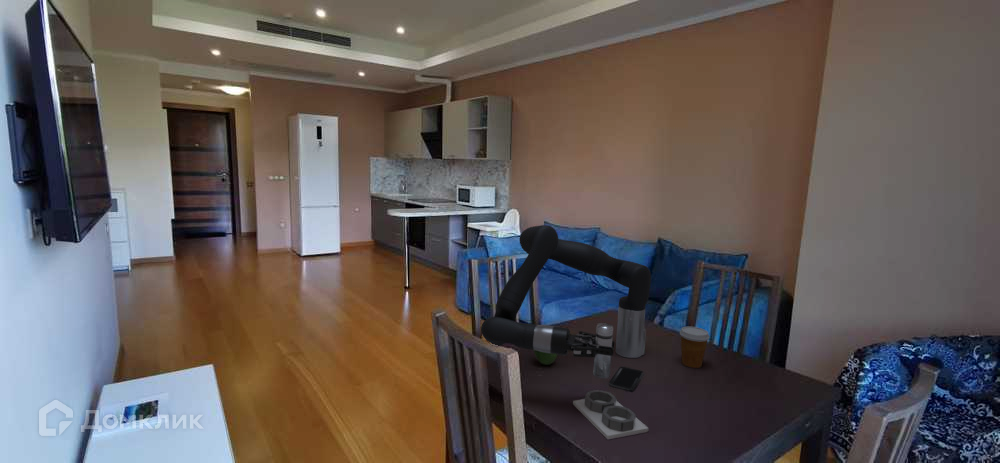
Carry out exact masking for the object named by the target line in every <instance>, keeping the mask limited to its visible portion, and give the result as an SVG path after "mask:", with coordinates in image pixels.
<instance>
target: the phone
mask: <svg viewBox="0 0 1000 463" xmlns="http://www.w3.org/2000/svg"><path fill="white" fill-rule="evenodd" d="M644 374H645V373H644V370H643V371H642V370H640V369H635V368H631V367H625V366H620V367H619V368H618V369H617V371H616V372H615V374H614V375H613V376H612V378H611V379H610V380H609V381H608V387H611V388H615V389H619V390H623V391H626V392H630V393H633V392H635V390H636V389H637V387H638V385H639V384H640V382H641V380H642V378H643V376H644Z"/></svg>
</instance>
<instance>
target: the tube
mask: <svg viewBox="0 0 1000 463" xmlns="http://www.w3.org/2000/svg"><path fill="white" fill-rule="evenodd" d="M595 335H596V342H595V344H596V345H599V347H600V346H608V347H612V341H613V338H614V325H612V324H610V323H606V322H599V323H597V324H596V332H595ZM593 359H594V360H593V372H592V375H593V376H594V377H596V378H598V379H608V378H609V377H610V374H611V363H612V362H611V361H612V360H611V359H612V356H608V355H601V354H599V355H596V357H593Z"/></svg>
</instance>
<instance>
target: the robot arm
mask: <svg viewBox="0 0 1000 463" xmlns="http://www.w3.org/2000/svg"><path fill="white" fill-rule="evenodd" d="M519 244H520V247H521V249H522V250H523V251H524V252H525V253H526V254H527V256H526V258H525V260H524V261H523V263H522V264H521V265H520V267H519V268H517V270H516V271H515V272H514V273H513V274H512V275H511V277H510V278H509V279H508V281H507V282H506V284H505V285H504V287H503V288H502V291H501V293H500V294H499V296H498V298H497V300H496V302H495V313H494V316H492V317H488V318H486V319H484V321H483V322H482V323H481V327H480V331H481V332H480V333H481V335H482V336H483V338H484V339H485V340H486V341H487V342H488V341H489V342H491V343H492V344H495V345H498V346H497V347H501V346H503V345H505V344H510V345H514V346H515V347H517V348H520V349H525V350H532V351H534V350H536V351H540V352H545V353H552V354H557V356H558V355H560V356H567V355H568V352H569V351H570V352H573V354H572V356H573V357H574V358H575V357H576V358H594V357H596V355H599V354H601V355H608V356H611V357H613V356H614V351H615V353H616V354H617V355H619V356H621V357H622V358H623V357H624V358H629V359H636V358H640V357H642V356H644V355H645V349H646V348H645V347H646V337H647V336H646V335H647V329H646V328H645V320H646V319H645V316H646V306H647V303H648V301H649V296H650V291H651V290H650V289H651V283H652V282H651V281H652V272H651V270H650V268H649V267H648V266H646V265H645V264H641V263H638V262H634V261H630V260H624V259H620V258H616V257H614V256H611V255H609V254H608V253H607V252H605V251H604V250H602V249H601V248H598V247H596V246H594V245H591V244H588V243H584V242H579V241H574V240H566V239H561V238H559V236H558V232H557V230H556V228H554V227H552V226H551V225H547V224H541V225H535V226H533V225H532V226H530V227H528V228H525V229H524V230H523V231H522V232H521V233H520V235H519ZM549 260H552V261H555V262H558V263H559V264H562V265H564V266H567V267H569V268H572V269H575V270H577V271H579V272H582V273H585V274H588V275H592V276H599V277H604V278H605V277H606V278H607V279H610V280H612V281H613V282H616V283H618V284H619V285H621V286H623V287H626V288H628V290H627V291H628V293H627V295H624V296H621V297H620V298H619V299H618V309H617V310H618V312H617V326H616V340H612V347H608V346H600V347H599V345H596V344H595V342H596V333H595V334H594V333H590V332H587V331H582V330H579V331H578V333H577V334H571V333H570V332H571V330H570V328H568V327H563V326H554V325H547V324H532V323H525V322H523V323H522V322H518V321H516V319H517V315H518V313H519V312H520V309H521V307H522V305H523V303H524V301H525V299H526V296H527V295H528V292H529V290H530V289H531V287H532V285H533V284H534V282H535V280H536V279H537V277H538V275H539V274H540V273H541V271H542V269H543V268H544V266H545V265H546V263H548V261H549ZM489 342H488V343H489Z"/></svg>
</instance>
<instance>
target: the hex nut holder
mask: <svg viewBox="0 0 1000 463" xmlns="http://www.w3.org/2000/svg"><path fill="white" fill-rule="evenodd" d="M572 405H573V406H574V407H575V408H576V409H577V410H578V411H579V412H580V413H581V414H582V415H583V416H584V417H585V418H586V419H587V421H589V423H591V424H592V426H594V428H596V429H597V430H598V432H599V433H600V434H602V435H603V436H604V437H605V439H607V440H611V439H612V440H613V439H617V438H623V437H628V436H634V435H640V434H643V433H649V427H648V426H647V425H646V424H644V423H643V422H642V421H641V420H640V419H638V418H637V417H636V416H637V414H636V413H635V412H633V411H632V410H631V409H630V408H628V407H625V406H623V405H622V403H619V401H617V397H616V396H615V395H613V393H611V392H610V391H605V390H602V389H595V390H589V391H587V392H586V394H585V396H584V398H582V399H576V400H573V401H572Z"/></svg>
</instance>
